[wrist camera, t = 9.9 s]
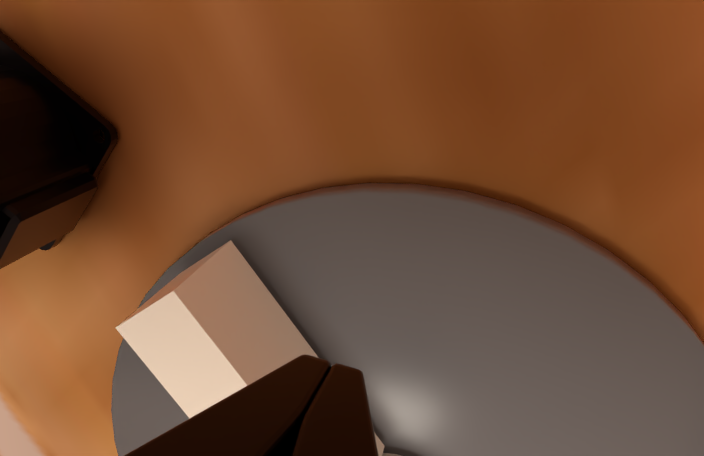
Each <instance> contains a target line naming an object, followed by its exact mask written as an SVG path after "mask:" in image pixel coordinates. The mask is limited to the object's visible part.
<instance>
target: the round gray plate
mask: <svg viewBox="0 0 704 456" xmlns="http://www.w3.org/2000/svg"><path fill="white" fill-rule="evenodd" d="M230 240H231V241H232V242H233V244H234V245H235V246H236V248H237V249H238V250H239V252H240V253H241V254H242V256H243V257H244V258H245V260H246V261H247V262H248V264H249V265H250V266H251V268H252V269H253V271H254V272H255V273H256V275H257V276H258V277H259V279H260V280H261V281H262V283H263V284H264V285H265V287H266V288H267V289H268V291H269V292H270V293H271V295H272V296H273V297H274V299H275V300H276V301H277V303H278V304H279V305H280V307H281V308H282V309H283V311H284V312H285V313H286V315H287V316H288V317H289V319H290V320H291V321H292V323H293V324H294V325H295V327H296V328H297V329H298V331H299V332H300V333H301V335H302V336H303V337H304V339H305V340H306V341H307V343H308V344H309V345H310V347H311V348H312V349H313V351H314V352H315V353H316V355H317V356H318V357H319V358H321V359H325V360H328V361H329V362H330V363H331V365H333V364H336V363H338V364H342V365H346V366H349V367H353V368H356V369H359V370H361V371H362V373H363V375H364V380H365V386H366V391H367V396H368V402H369V407H370V412H371V418H372V423H373V429H374V432H375V434H376V435H377V436H378V438H379V439H380V440H381V442H382V443H383V444H384V446H385V447H384V450H383V453H391V454H398V455H401V456H704V342H703V341H702V340H701V338H700V337H699V336H698V334H697V333H696V332H695V330H694V329H693V328H692V326H691V325H690V324H689V322H688V321H687V320H686V318H685V317H684V316H683V314H682V313H681V312H680V311H679V310H678V309H677V308H676V307H675V306H674V305H673V304H672V303H671V302H670V301H669V300H668V299H667V298H666V297H665V296H664V295H663V294H662V293H661V292H660V291H659V290H658V289H657V288H656V287H655V286H654V285H653V284H652V283H651V282H650V281H648V280H647V279H646V278H645V277H643V276H642V275H641V274H639V273H638V272H637V271H635V270H634V269H633V268H631V267H630V266H629V265H627V264H626V263H625V262H623V261H622V260H621V259H619V258H618V257H617V256H615V255H614V254H613V253H612V252H610V251H609V250H607V249H605V248H604V247H602V246H600V245H598V244H597V243H595V242H593V241H591V240H590V239H588V238H586V237H584V236H583V235H581V234H579V233H577V232H576V231H574V230H572V229H570V228H569V227H567V226H565V225H563V224H561V223H558V222H556V221H554V220H551V219H549V218H546V217H544V216H542V215H539V214H537V213H534V212H532V211H529V210H527V209H525V208H522V207H520V206H517V205H515V204H511V203H507V202H504V201H500V200H497V199H493V198H489V197H486V196H482V195H478V194H475V193H471V192H467V191H462V190H455V189H448V188H442V187H435V186H428V185H421V184H401V183H362V184H353V185H344V186H335V187H326V188H320V189H316V190H312V191H308V192H304V193H300V194H296V195H292V196H288V197H284V198H280V199H278V200H276V201H273V202H271V203H268V204H266V205H263V206H261V207H258V208H256V209H254V210H251V211H249V212H246V213H244V214H242V215H240V216H239V217H237V218H235V219H234V220H232V221H230V222H229V223H227V224H225V225H224V226H222V227H220V228H219V229H217V230H215V231H214V232H212V233H211V234H209V235H208V236H207V237H206V238H204V239H203V240H202V241H201V242H199V243H198V244H197V245H196V246H194V247H193V248H192V249H191V250H190V251H188V252H187V253H186V254H185V255H184V256H182V257H181V258H180V259H179V260H178V261H176V262H175V263H174V264H173V265H172V266H170V267H169V268H168V269H167V270H166V272H165V273H164V274H163V275H162V276H161V277H160V279H159V280H158V281H157V282H156V283H155V284H154V286H153V287H152V288H151V289H150V290H149V291H148V293H147V294H146V295H145V297H144V299H143V300H142V302H141V304H140V305H139V307H140V306H142V305H143V304H144V303H145V302H146V301H148V300H149V299H150V298H151V297H152V296H154V295H155V294H156V293H157V292H158V291H159V290H161V289H162V288H163V287H164V286H165V285H167V284H168V283H169V282H170V281H171V280H172V279H174V278H175V277H176V276H177V275H178V274H180V273H181V272H183V271H184V270H186V269H187V268H189V267H190V266H192V265H193V264H195V263H196V262H198V261H200V260H201V259H203V258H204V257H206V256H207V255H209V254H210V253H212V252H213V251H215V250H216V249H218V248H219V247H221V246H223V245H224V244H226V243H227V242H229V241H230ZM139 307H138V308H139ZM111 411H112V420H113V430H114V439H115V444H116V448H117V452H118V456H124V455H126V454H128V453H130V452H131V451H133V450H135V449H137V448H138V447H140V446H142V445H144V444H145V443H147V442H149V441H151V440H152V439H154V438H156V437H158V436H160V435H161V434H163V433H165V432H167V431H168V430H170V429H172V428H174V427H175V426H177V425H179V424H181V423H182V422H184V421H186V420H188V419H189V417H188V416H187V415H186V414H185V412H184V411H183V410H182V409H181V407H180V406H179V405H178V404H177V403H176V401H175V400H174V399H173V398H172V396H171V395H170V394H169V393H168V392H167V390H166V389H165V388H164V387H163V385H162V384H161V383H160V382H159V381H158V379H157V378H156V377H155V376H154V374H153V373H152V372H151V371H150V370H149V368H148V367H147V366H146V365H145V363H144V362H143V361H142V360H141V359H140V357H139V356H138V355H137V354H136V352H135V351H134V350H133V349H132V348H131V346H130V345H129V344H128V343H127V341H126V340H125V339H124V338H123V341H122V343H121V346H120V349H119V352H118V357H117V362H116V367H115V371H114V376H113V385H112V409H111Z"/></svg>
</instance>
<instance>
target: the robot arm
mask: <svg viewBox="0 0 704 456" xmlns="http://www.w3.org/2000/svg"><path fill="white" fill-rule="evenodd" d="M100 130H101V131H102V132H103V133H104V135H105V140H103V139H102V138H101V136H100ZM117 140H118V133H117V131H116V128H115V127H114V126H113V125H112V124H111V123H110V122H109V121H108V120H107V119H105V118H104V117H103V116H102V115H101V114H99V113H98V112H97V111H96V110H95V109H93V108H92V107H91V106H90V105H89V104H87V103H86V102H85V101H84V100H83V99H81V98H80V97H79V96H78V95H77V94H75V93H74V92H73V91H72V90H71V89H69V88H68V87H67V86H66V85H65V84H63V83H62V82H61V81H60V80H59V79H57V78H56V77H55V76H54V75H53V74H51V73H50V72H49V71H48V70H46V69H45V68H44V67H43V66H42V65H40V64H39V63H38V62H37V61H36V60H34V59H33V58H32V57H31V56H30V55H28V54H27V53H26V52H25V51H24V50H22V49H21V48H20V47H19V46H18V45H16V44H15V43H14V42H13V41H12V40H10V39H9V38H8V37H7V36H6V35H4V34H3V33H2V32H1V31H0V269H1V268H3V267H5V266H7V265H9V264H10V263H12V262H14V261H16V260H18V259H20V258H22V257H24V256H25V255H27V254H29V253H31V252H33V251H35V250H37V249H39V248H40V249H41V250H49V249H51V248H53V247H55V246H56V245H57V244H58V243H59V242H60V240H61V238H62V237H63V235H65V234H67V233H69V232H70V231H72V230H73V229H74V228H75V226H76V224H77V222H78V221H79V219H80V217H81V216H82V214H83V212H84V211H85V209H86V207H87V205H88V204H89V202H90V200H91V199H92V197H93V195H94V193H95V192H96V190H97V188H98V180H97V179H96V178H97V176H98V174H99V173H100V171H101V169H102V167H103V166H104V164H105V162H106V160H107V159H108V157H109V155H110V154H111V152H112V150H113V148H114V147H115V145H116V143H117ZM124 456H379V455H378V450H377V445H376V439H375V434H374V429H373V423H372V418H371V412H370V407H369V402H368V396H367V391H366V386H365V380H364V375H363V373H362V371H361V370H359V369H356V368H353V367H349V366H346V365H342V364H338V363H336V364H333V365H331V363H330V362H329V361H328V360H325V359H321V358H318V357H314V356H311V355H306V354H304V355H300V356H299V357H297V358H295V359H293V360H291V361H290V362H288V363H286V364H284V365H283V366H281V367H279V368H277V369H276V370H274V371H272V372H270V373H269V374H267V375H265V376H263V377H262V378H260V379H258V380H256V381H255V382H253V383H251V384H249V385H247V386H246V387H244V388H242V389H240V390H239V391H237V392H235V393H233V394H232V395H230V396H228V397H226V398H225V399H223V400H221V401H219V402H218V403H216V404H214V405H212V406H211V407H209V408H207V409H205V410H204V411H202V412H200V413H198V414H196V415H195V416H193V417H191V418H189V419H188V420H186V421H184V422H182V423H181V424H179V425H177V426H175V427H174V428H172V429H170V430H168V431H167V432H165V433H163V434H161V435H160V436H158V437H156V438H154V439H152V440H151V441H149V442H147V443H145V444H144V445H142V446H140V447H138V448H137V449H135V450H133V451H131V452H130V453H128V454H126V455H124Z"/></svg>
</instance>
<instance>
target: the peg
mask: <svg viewBox="0 0 704 456" xmlns="http://www.w3.org/2000/svg"><path fill="white" fill-rule="evenodd" d="M116 329H117V330H118V332H119V333H120V334H121V335H122V337H123V338H124V339H125V340H126V341H127V343H128V344H129V345H130V346H131V348H132V349H133V350H134V351H135V352H136V354H137V355H138V356H139V357H140V359H141V360H142V361H143V362H144V363H145V365H146V366H147V367H148V368H149V370H150V371H151V372H152V373H153V374H154V376H155V377H156V378H157V379H158V381H159V382H160V383H161V384H162V385H163V387H164V388H165V389H166V390H167V392H168V393H169V394H170V395H171V396H172V398H173V399H174V400H175V401H176V403H177V404H178V405H179V406H180V407H181V409H182V410H183V411H184V412H185V414H186V415H187V416H188V417H189V418H191V417H193V416H195V415H196V414H198V413H200V412H202V411H204V410H205V409H207V408H209V407H211V406H212V405H214V404H216V403H218V402H219V401H221V400H223V399H225V398H226V397H228V396H230V395H232V394H233V393H235V392H237V391H239V390H240V389H242V388H244V387H246V386H247V385H249V384H251V383H253V382H255V381H256V380H258V379H260V378H262V377H263V376H265V375H267V374H269V373H270V372H272V371H274V370H276V369H277V368H279V367H281V366H283V365H284V364H286V363H288V362H290V361H291V360H293V359H295V358H297V357H299V356H300V355H304V354H306V355H311V356H314V357H318V356H317V355H316V353H315V352H314V351H313V349H312V348H311V347H310V345H309V344H308V343H307V341H306V340H305V339H304V337H303V336H302V335H301V333H300V332H299V331H298V329H297V328H296V327H295V325H294V324H293V323H292V321H291V320H290V319H289V317H288V316H287V315H286V313H285V312H284V311H283V309H282V308H281V307H280V305H279V304H278V303H277V301H276V300H275V299H274V297H273V296H272V295H271V293H270V292H269V291H268V289H267V288H266V287H265V285H264V284H263V283H262V281H261V280H260V279H259V277H258V276H257V275H256V273H255V272H254V271H253V269H252V268H251V266H250V265H249V264H248V262H247V261H246V260H245V258H244V257H243V256H242V254H241V253H240V252H239V250H238V249H237V248H236V246H235V245H234V244H233V242H232V241H231V240H230V241H229V242H227V243H226V244H224V245H223V246H221V247H219V248H218V249H216V250H215V251H213V252H212V253H210V254H209V255H207V256H206V257H204V258H203V259H201V260H200V261H198V262H196V263H195V264H193V265H192V266H190V267H189V268H187V269H186V270H184V271H183V272H181V273H180V274H178V275H177V276H176V277H175V278H174V279H172V280H171V281H170V282H169V283H168V284H167V285H165V286H164V287H163V288H162V289H161V290H159V291H158V292H157V293H156V294H155V295H154V296H152V297H151V298H150V299H149V300H148V301H146V302H145V303H144V304H143V305H142V306H140V307H139V308H138V309H137V310H136V311H135V312H133V313H132V314H131V315H130V316H129V317H127V318H126V319H125V320H124V321H123V322H122V323H120V324H119V325H118V326H117V327H116ZM318 358H319V357H318ZM374 434H375V432H374ZM375 439H376V445H377V450H378V455H379V456H401V455H398V454H391V453H383V450H384V447H385V446H384V444H383V443H382V442H381V440H380V439H379V438H378V436H377V435H376V434H375Z"/></svg>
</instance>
